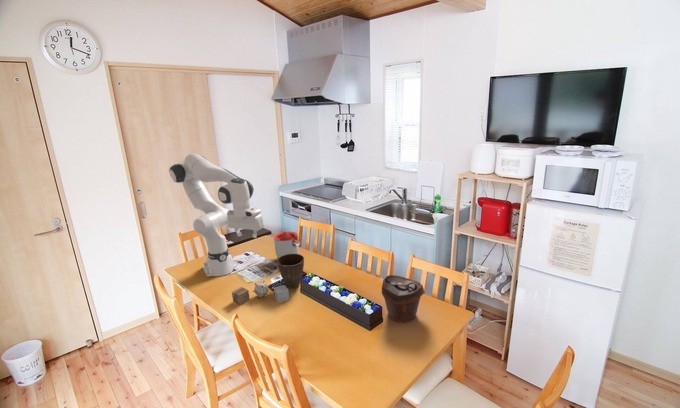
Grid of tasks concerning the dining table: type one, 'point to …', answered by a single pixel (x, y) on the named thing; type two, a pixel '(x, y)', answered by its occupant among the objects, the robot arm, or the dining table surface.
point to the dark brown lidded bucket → (401, 297)
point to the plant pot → (291, 269)
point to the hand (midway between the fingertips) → (247, 236)
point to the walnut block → (240, 296)
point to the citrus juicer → (286, 243)
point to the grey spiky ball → (261, 289)
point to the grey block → (281, 293)
